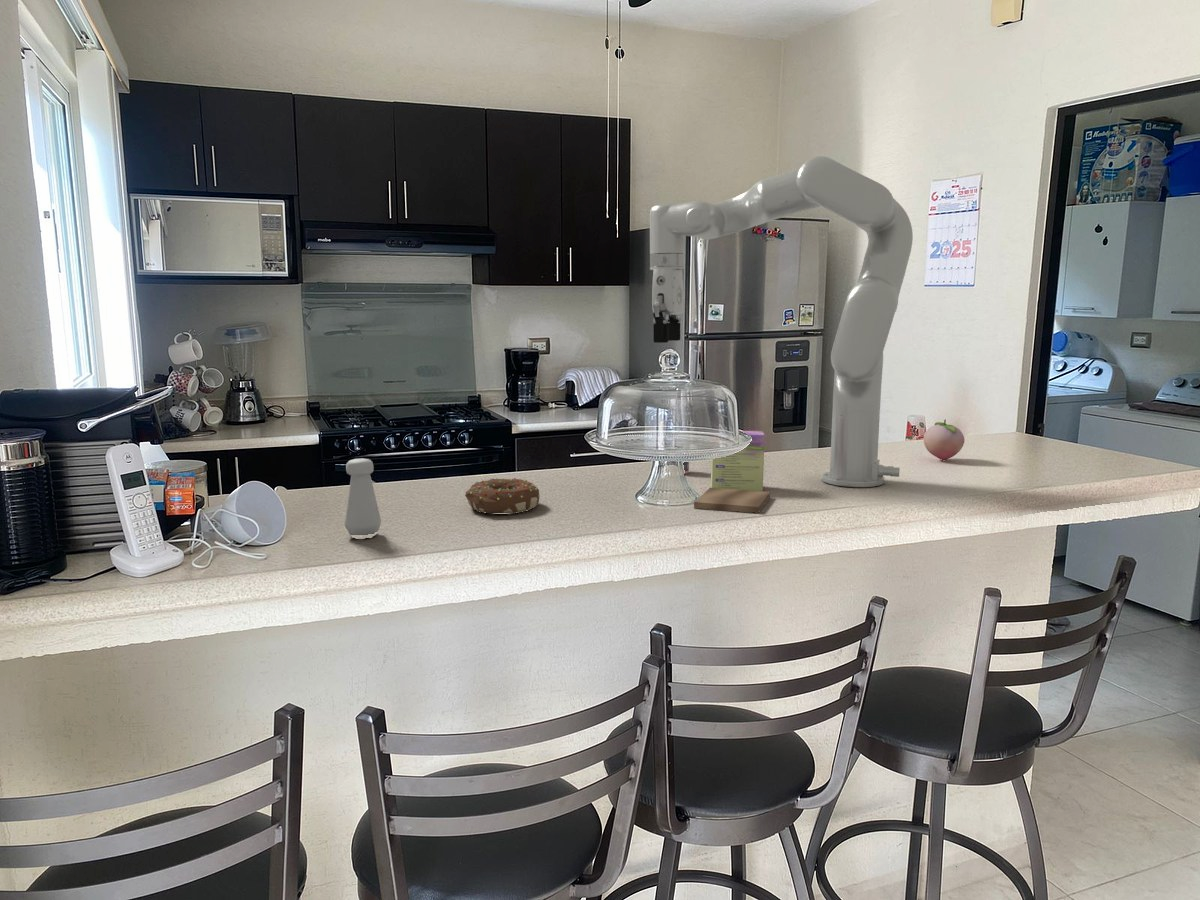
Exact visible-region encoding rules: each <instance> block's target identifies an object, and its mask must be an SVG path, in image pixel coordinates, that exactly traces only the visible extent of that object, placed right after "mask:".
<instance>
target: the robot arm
mask: <svg viewBox="0 0 1200 900" xmlns="http://www.w3.org/2000/svg"><path fill="white" fill-rule="evenodd" d="M820 207H822V208H823V209H826V210H828V211H830V212H831V213H833V214H836V215H837V216H840V217H842V218H843V219H845V220H847V221H849V222H851V223H852V224H854V225H855V226H856V227H858V228H860V229H861V230H863V231H864V232H865V233H866V234H867V240H868V243H867V248H866V251H865V255H864V257H863V261H862V266H861V269H860V273H859V276H858V278H857V282H856V284H855V285H854V286H853V287H852V288H851V289H850V291H849V292H848V295H847V297H846V299H845V303H844V306H843V309H842V313H841V317H840V320H839V324H838V327H837V330H836V334H835V338H834V340H833V344H832V349H831V352H830V362H831V366H832V369H833V370H834V375H833V376H834V377H833V390H832V391H833V393H832V410H831V411H832V413H831V414H832V416H831V417H832V418H831V438H830V439H831V441H830V442H831V443H830V463H829V464H830V466H829V467H830V468H829V471H827V472H825V473H823V474H822V475H821V477H822V478H821V479H822V481H823V482H825V483H826V484H830V485H832V486H833V485H834V486H839V487H845V488H846V487H847V488H871V487H872V488H874V487H879V486H882V485H884V483H885V477H886V476H887V477H889V476H890V477H896V478H897V477H898V478H900V471H901V469H900V467H896V466H892V465H891V466H890V465H889V466H888V465H883V464H880V459H878V457H879V455H878V453H879V438H880V437H879V435H880V434H879V433H880V432H879V431H880V419H881V418H880V417H881V416H880V414H881V402H882V401H881V397H882V383H883V381H882V380H883V369H884V368H883V367H884V351H885V348H886V343H887V340H888V337H889V335H890V331H891V328H892V323H893V320H894V317H895V313H896V312H897V310H898V305H899V297H900V292H901V288H902V286H903V282H904V279H905V275H906V272H907V271H906V270H907V266H908V263H909V261H910V256H911V253H912V248H913V247H912V246H913V237H914V235H913V227H912V222H911V220H910V217H909V216H908V213H907V212H906V210H905V209H904V208H903V206H902V205H901V204H900V203H899V202H898V201H897V200H896V199H895V198H894V196H893V194H892V193H891V191H890V190H889V188H888V187H886V186H885V185H883V184H881V183H880V182H877V181H876V180H874V179H872V178H869V177H868V176H866V175H863V174H861V173H860V172H859V171H856V170H853V169H852V168H849V167H847V166H845V165H843V164H842V163H840V162H838V161H836V160H834V159H832V158H830V157H827V156H814V157H811V158H809V159H807V160H806V161H805V162H804V163H803V164H802V165H801V166H800V167H799V168H796V169H793V170H789V171H786V172H783V173H779V174H776V175H773V176H770V177H767V178H763V179H761V180H759V181H757V182H756V183H755V184H753V185H752V186H751V188H749V189H748V190H746V191H745V192H743V193H741V194H739V195H737V196H734V197H731V198H728V199H725V200H721V201H718V202H714V203H709V202H707V201H705V200H693V201H687V202H683V203H678V204H676V203H664V204H663V203H662V204H656V205H653V206H652V207H651V208H650V211H649V271H653V272H652V273H653V274H652V285H651V288H652V290H651V293H652V294H651V297H652V298H651V299H652V300H651V303H652V304H651V305H652V308H651V309H652V316H653V320H652V321H653V322H652V323H653V328H652V329H653V343H658V344H659V343H660V344H661V343H668V342H669V341H681V315H683V314H684V313H685V296H684V295H685V293H684V291H685V290H684V278H683V271H682V270H685V236H686V237H692V238H697V239H698V238H699V239H701V240H714V239H718V238H721V237H724V236H728V235H733V234H736V233H739V232H742V231H744V230H748V229H751V228H753V227H756V226H760V225H763V224H767V223H769V222H771V221H775V220H778V219H782V218H784V217H787V216H791V215H795V214H798V213H802V212H806V211H809V210H812V209H817V208H820Z"/></svg>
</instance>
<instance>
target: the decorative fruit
mask: <svg viewBox="0 0 1200 900" xmlns="http://www.w3.org/2000/svg"><path fill="white" fill-rule="evenodd" d="M943 421H944V422H941V421H940V422H939V421H936V422H935V423H934V425H932V426H929V427H928V429H927V430H926V431H925V432H924V435H923V445H924V447H925V449H926V450H927V451H928V453H930V454H931V455H932V456H934V457H935V458H937V459H939V460H941V459H942V460H945V461H947V460H949V459H951V458H953V457H954V456H956V455H958V453H959V452H960V451H961V450H962V448H963V446H964V444H965V436H964V434H963V432H962V430H960V428H958V427H956V426H955V425H952V424H947V422H946V419H943ZM942 460H941V461H942Z"/></svg>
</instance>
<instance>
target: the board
mask: <svg viewBox="0 0 1200 900" xmlns="http://www.w3.org/2000/svg"><path fill="white" fill-rule="evenodd" d="M770 499H771V491H764V490H763V491H750V490H736V489H722V488H712V487H709V488H708V489H707V490H706V491H705V492H703V494H701V495H700V496H699V497H698V498H696V500H695V501H693V509H697V508H703V509H702V510H710V509H715V510H714V511H723V510H726V511H725V512H735V511H739V513H748V512H755V513H754V514H759V513H760V512H761V510H762V509H763V508H764V507H763V506H766V504H767V503H768V502H769V500H770ZM759 511H760V512H759Z"/></svg>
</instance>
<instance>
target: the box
mask: <svg viewBox="0 0 1200 900" xmlns="http://www.w3.org/2000/svg"><path fill="white" fill-rule="evenodd" d="M740 431H741V432H743V433H746V434H748V435H750V436H751V437H752V441H751V442H750V444H749V445H748V446H747V447H746V448H744V449H743V450H741V451H739V452H737V453H735V454H733V455H729V456H726V457H721V458H715V459H710V461H711V462H710V463H711V465H710V467H711V468H710V486H711V488H722V489H736V490H750V491H764V468H765V467H764V463H765V459H764V458H765V433H764V431H762V430H740Z"/></svg>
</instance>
